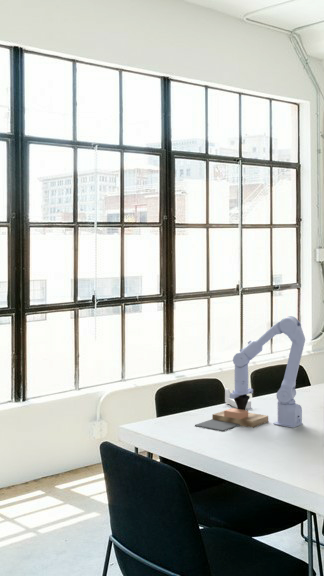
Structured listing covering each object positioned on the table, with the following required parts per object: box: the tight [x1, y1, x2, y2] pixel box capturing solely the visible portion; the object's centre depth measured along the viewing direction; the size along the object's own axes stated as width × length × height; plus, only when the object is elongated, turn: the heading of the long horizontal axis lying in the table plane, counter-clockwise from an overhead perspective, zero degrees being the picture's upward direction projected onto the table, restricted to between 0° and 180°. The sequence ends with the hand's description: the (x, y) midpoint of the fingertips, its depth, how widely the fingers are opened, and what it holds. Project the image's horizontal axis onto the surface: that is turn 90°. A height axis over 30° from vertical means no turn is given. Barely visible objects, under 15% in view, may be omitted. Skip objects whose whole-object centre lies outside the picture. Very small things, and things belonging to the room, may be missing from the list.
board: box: [211, 410, 269, 428], centre depth 284 cm, size 20×12×2 cm, turn 50°
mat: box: [194, 419, 241, 432], centre depth 277 cm, size 14×12×1 cm
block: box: [223, 407, 249, 419], centre depth 282 cm, size 8×6×2 cm
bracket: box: [224, 387, 252, 410], centre depth 313 cm, size 13×7×8 cm, turn 19°
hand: (241, 412), depth 285 cm, fingers closed
